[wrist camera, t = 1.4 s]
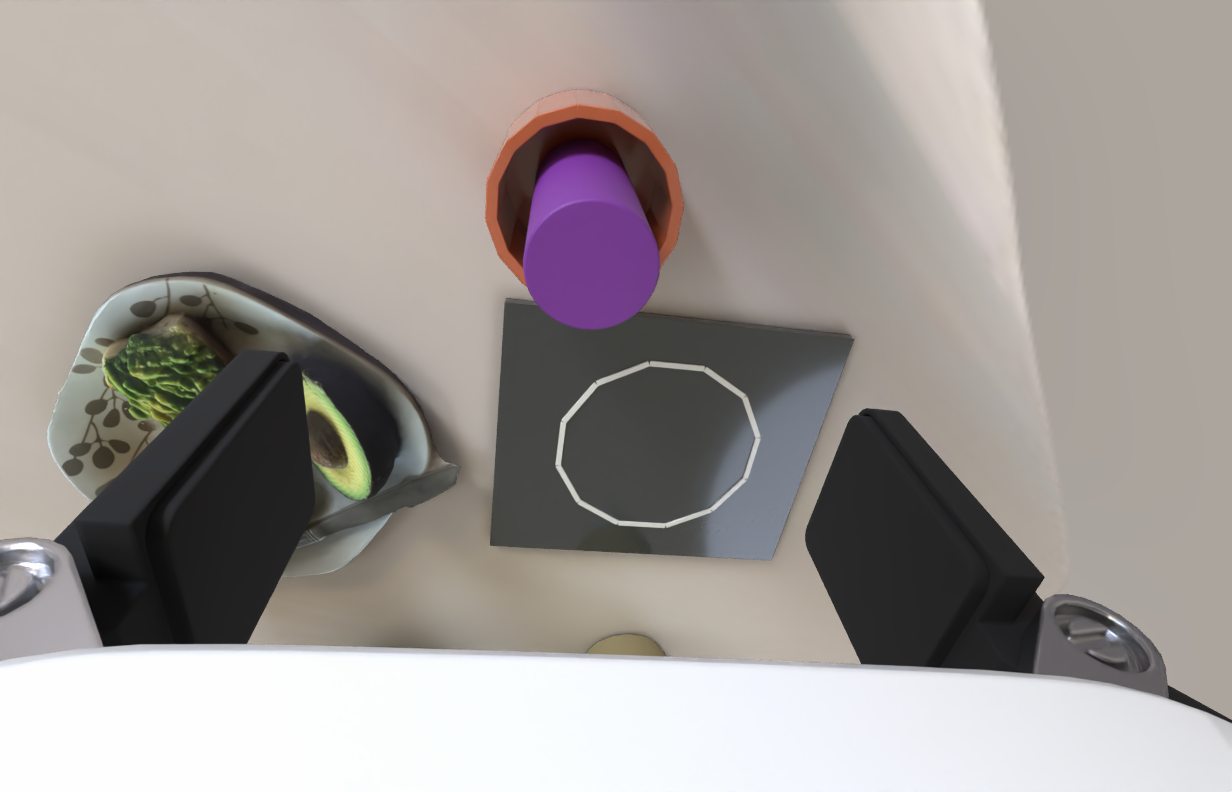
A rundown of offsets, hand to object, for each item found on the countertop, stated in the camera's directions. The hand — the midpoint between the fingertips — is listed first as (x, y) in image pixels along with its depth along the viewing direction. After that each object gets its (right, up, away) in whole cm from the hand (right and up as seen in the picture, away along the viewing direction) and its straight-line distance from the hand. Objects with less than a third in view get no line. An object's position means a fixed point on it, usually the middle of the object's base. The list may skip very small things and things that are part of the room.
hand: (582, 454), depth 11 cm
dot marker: (-1, +10, +17) cm, 20 cm away
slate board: (+3, -2, +25) cm, 25 cm away
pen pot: (-1, +11, +17) cm, 20 cm away
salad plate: (-18, -1, +23) cm, 29 cm away
